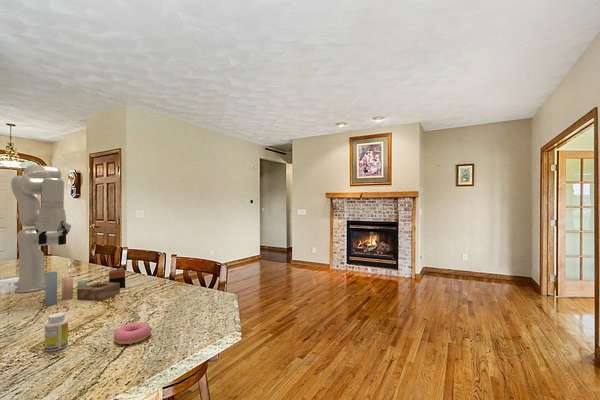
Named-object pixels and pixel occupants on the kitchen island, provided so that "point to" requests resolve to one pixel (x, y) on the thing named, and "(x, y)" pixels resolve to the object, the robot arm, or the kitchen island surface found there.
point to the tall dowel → (50, 288)
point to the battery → (117, 277)
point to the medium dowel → (67, 288)
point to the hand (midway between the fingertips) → (52, 244)
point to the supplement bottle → (56, 332)
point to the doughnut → (132, 333)
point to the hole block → (98, 291)
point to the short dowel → (81, 283)
